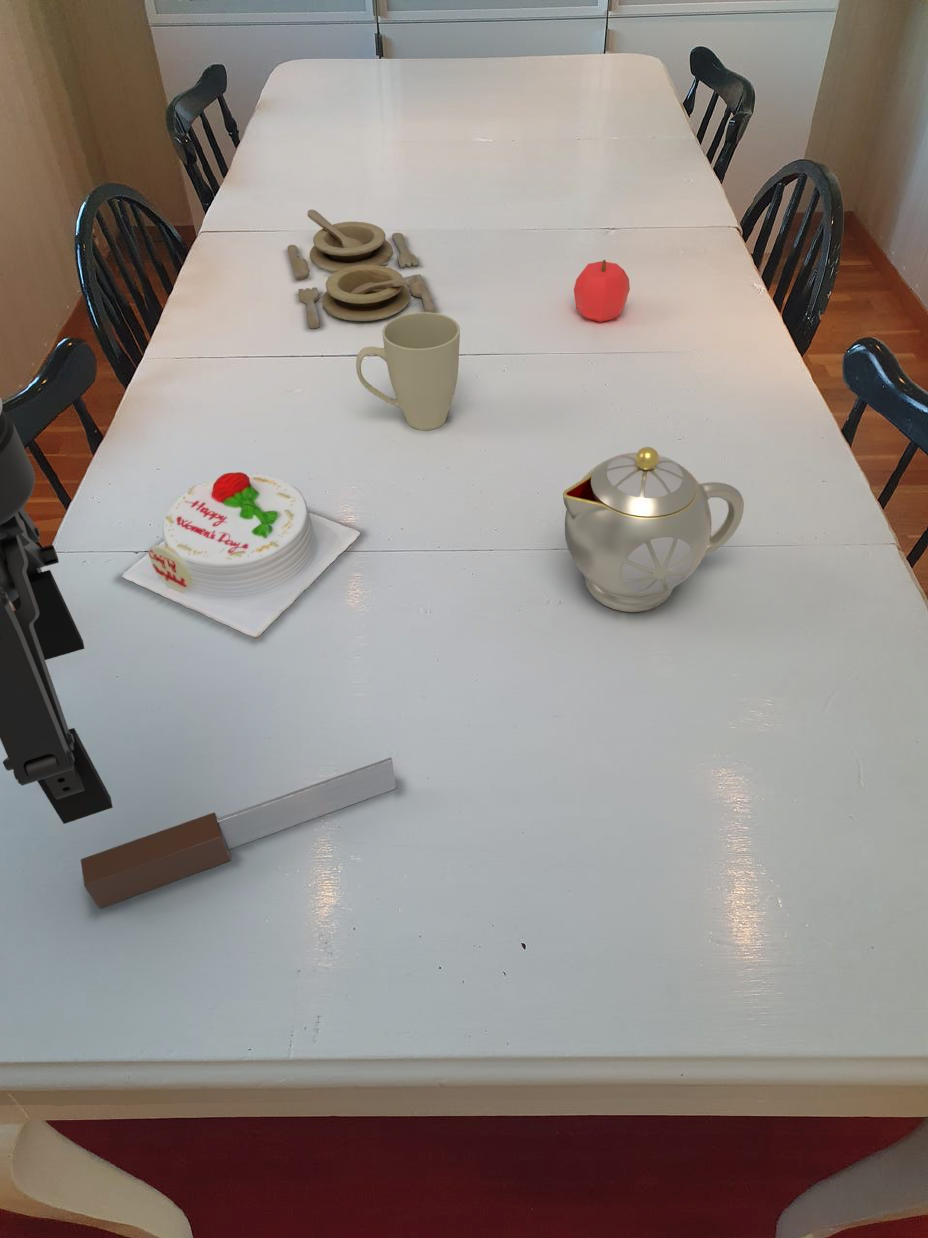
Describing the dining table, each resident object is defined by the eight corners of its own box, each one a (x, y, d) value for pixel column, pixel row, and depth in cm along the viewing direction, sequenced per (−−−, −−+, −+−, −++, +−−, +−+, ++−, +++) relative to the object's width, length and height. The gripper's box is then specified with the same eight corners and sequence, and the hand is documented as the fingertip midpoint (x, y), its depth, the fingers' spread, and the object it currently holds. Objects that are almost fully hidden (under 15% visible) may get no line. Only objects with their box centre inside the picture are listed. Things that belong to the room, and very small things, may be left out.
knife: (99, 909, 68) (81, 883, 65) (94, 882, 69) (78, 855, 66) (400, 798, 74) (396, 769, 71) (390, 776, 75) (386, 747, 73)
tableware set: (287, 248, 150) (281, 211, 146) (403, 234, 153) (401, 198, 149) (308, 333, 130) (301, 293, 125) (442, 314, 132) (440, 275, 128)
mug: (418, 389, 118) (413, 302, 110) (477, 416, 113) (475, 326, 105) (359, 426, 112) (348, 337, 104) (417, 455, 108) (411, 364, 99)
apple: (596, 296, 136) (601, 243, 130) (638, 314, 131) (645, 259, 126) (560, 314, 132) (563, 260, 126) (602, 333, 128) (607, 278, 122)
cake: (232, 489, 105) (219, 426, 99) (364, 537, 98) (358, 473, 93) (118, 579, 93) (96, 514, 87) (259, 640, 87) (245, 574, 81)
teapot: (573, 644, 86) (586, 506, 74) (539, 551, 95) (547, 416, 83) (754, 617, 88) (794, 480, 76) (703, 529, 97) (732, 395, 85)
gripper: (30, 580, 34) (171, 869, 49) (-6, 301, 50) (108, 582, 65) (-193, 640, 32) (26, 921, 47) (-155, 330, 48) (-1, 612, 63)
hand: (74, 725), depth 56 cm, fingers open, 13 cm apart
